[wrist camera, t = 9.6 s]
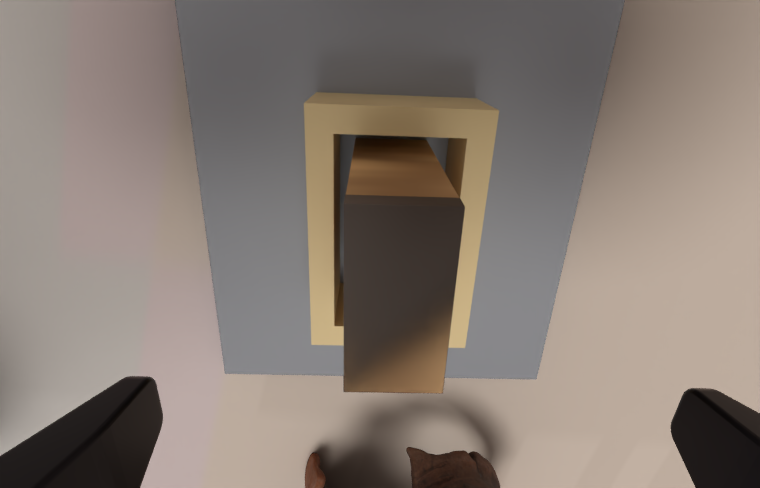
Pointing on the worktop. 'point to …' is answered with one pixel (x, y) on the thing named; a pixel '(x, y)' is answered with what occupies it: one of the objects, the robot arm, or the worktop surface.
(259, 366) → the grey board with socket
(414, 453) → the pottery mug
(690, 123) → the worktop surface
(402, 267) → the wood topped block
